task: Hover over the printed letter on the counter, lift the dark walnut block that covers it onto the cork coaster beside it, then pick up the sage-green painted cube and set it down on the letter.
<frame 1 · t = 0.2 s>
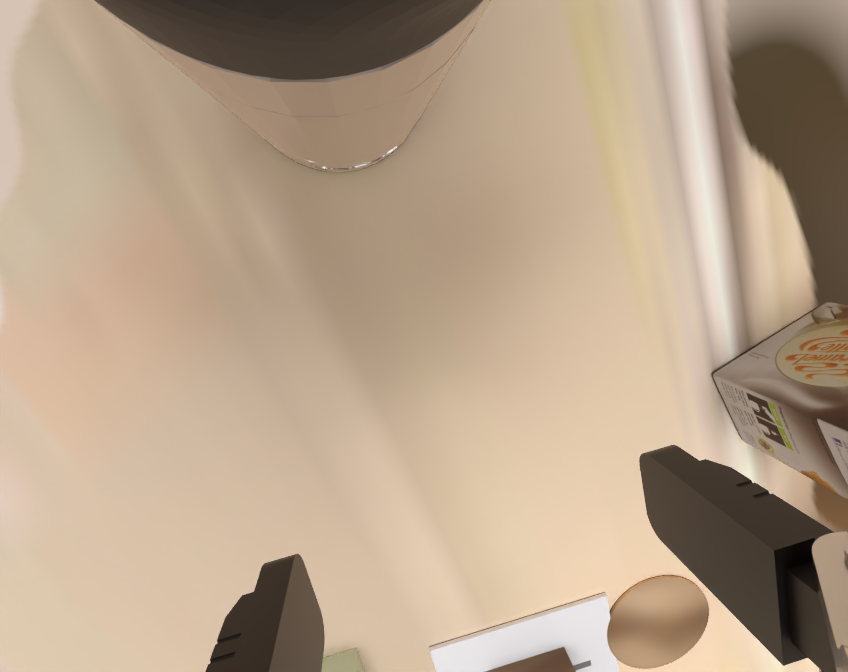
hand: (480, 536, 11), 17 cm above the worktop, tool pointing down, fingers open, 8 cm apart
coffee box: (782, 371, 32), on the worktop
coaster: (656, 621, 35), on the worktop
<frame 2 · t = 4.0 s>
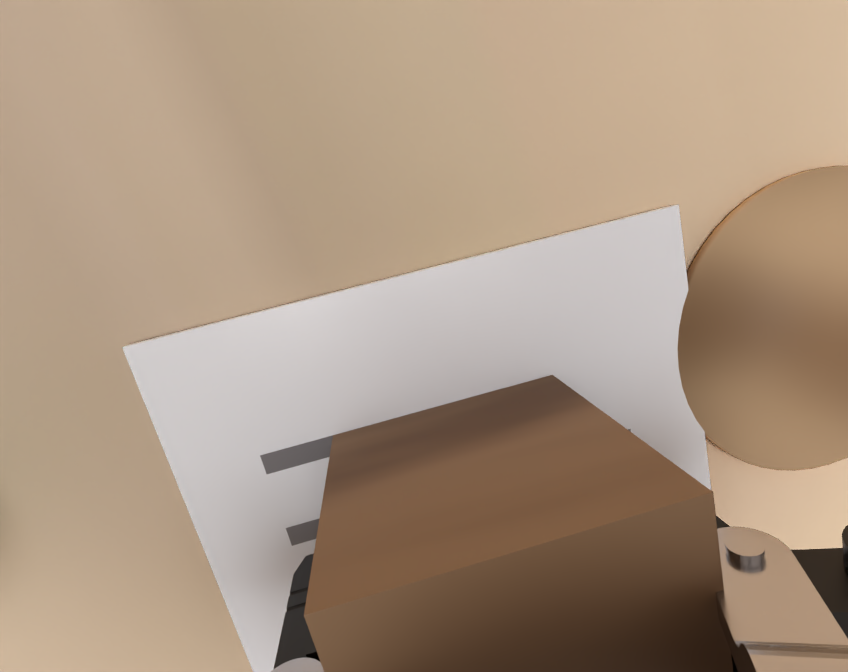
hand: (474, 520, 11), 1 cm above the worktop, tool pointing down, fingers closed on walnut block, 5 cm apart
coaster: (811, 325, 13), on the worktop
walnut block: (468, 503, 12), resting on letter, touching gripper
letter: (466, 496, 12), on the worktop
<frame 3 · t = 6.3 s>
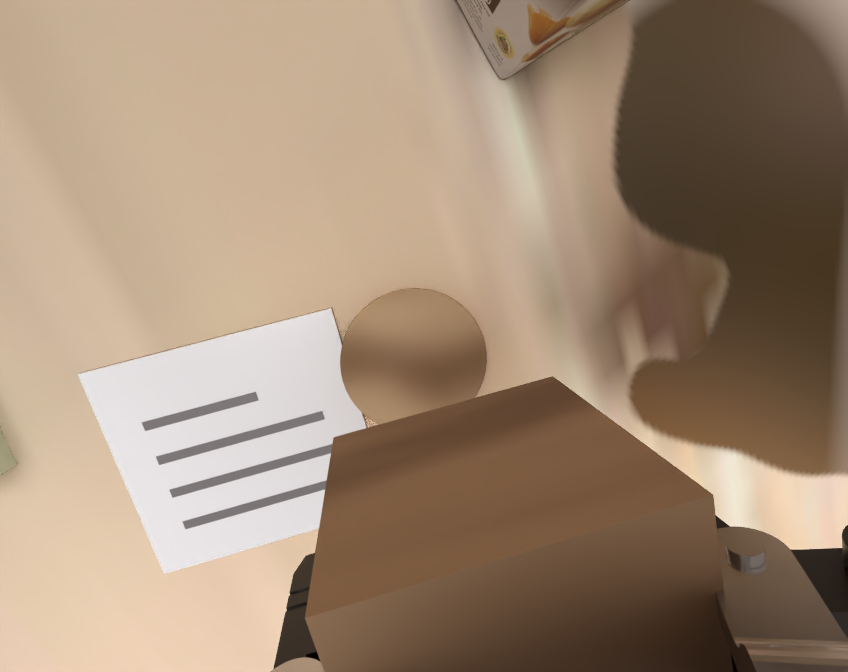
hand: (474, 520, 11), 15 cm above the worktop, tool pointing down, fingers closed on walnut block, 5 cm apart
coaster: (414, 361, 26), on the worktop
walnut block: (469, 504, 12), point 14 cm above the worktop, touching gripper
letter: (245, 443, 26), on the worktop
when the fingers open (2 cm above the worktop, at t = 8.7 s): walnut block drops 1 cm, resting on coaster.
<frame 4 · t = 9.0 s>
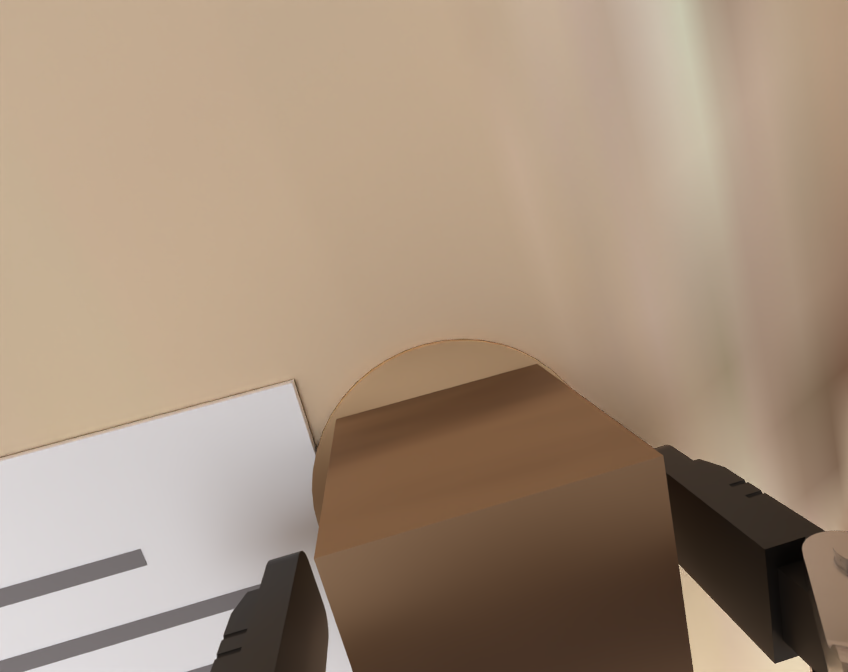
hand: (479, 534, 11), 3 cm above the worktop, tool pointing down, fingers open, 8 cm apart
coaster: (457, 477, 13), on the worktop
walnut block: (461, 482, 13), resting on coaster
letter: (127, 640, 13), on the worktop
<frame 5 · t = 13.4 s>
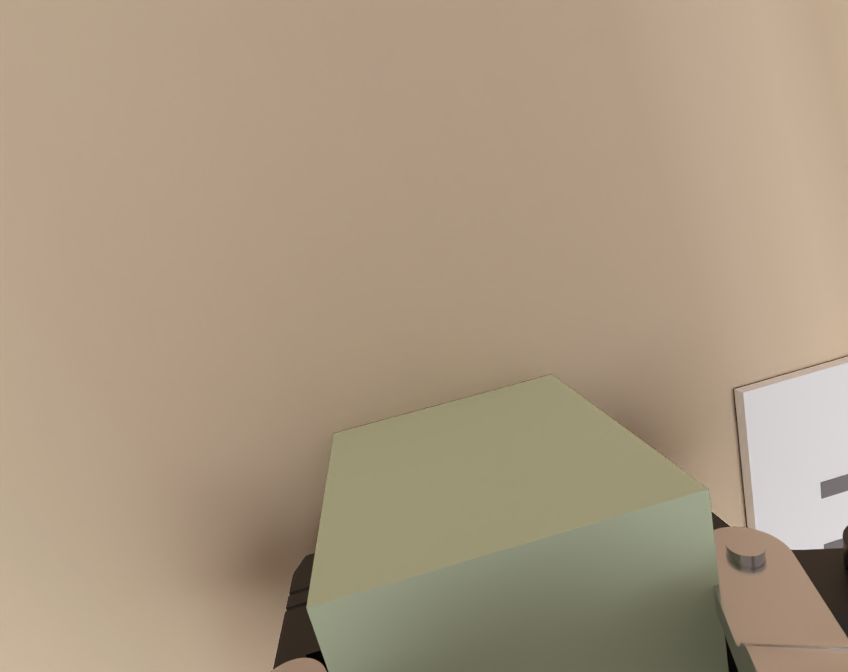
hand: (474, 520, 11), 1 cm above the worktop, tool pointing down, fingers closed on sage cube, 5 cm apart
sage cube: (468, 501, 12), on the worktop, touching gripper
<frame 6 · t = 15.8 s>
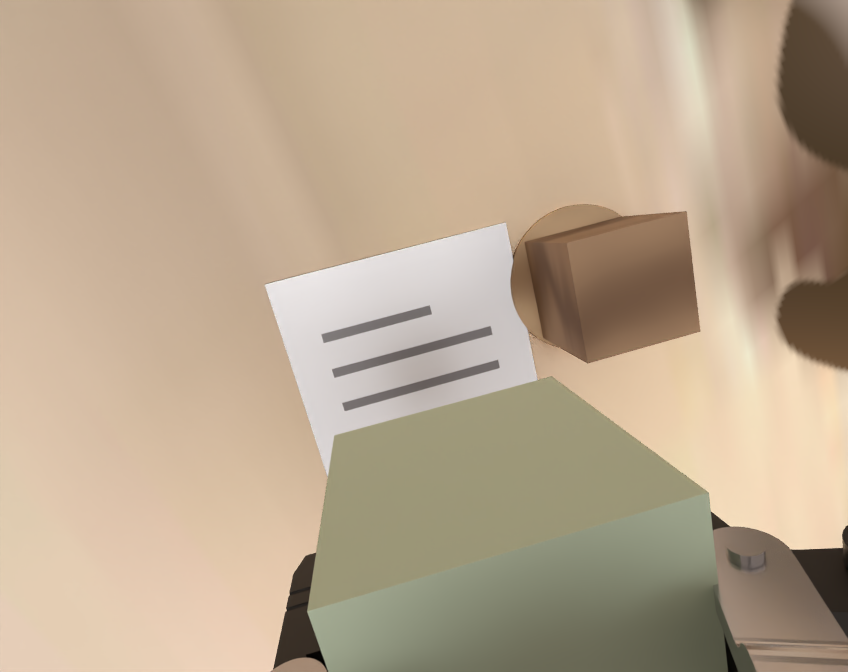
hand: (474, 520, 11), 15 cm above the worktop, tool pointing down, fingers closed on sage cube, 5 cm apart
sage cube: (468, 503, 12), point 15 cm above the worktop, touching gripper
coaster: (577, 278, 27), on the worktop
walnut block: (580, 278, 26), resting on coaster
letter: (414, 358, 26), on the worktop
when the fingers open (2 cm above the worktop, at t = 18.3 s): sage cube drops 1 cm, resting on letter.
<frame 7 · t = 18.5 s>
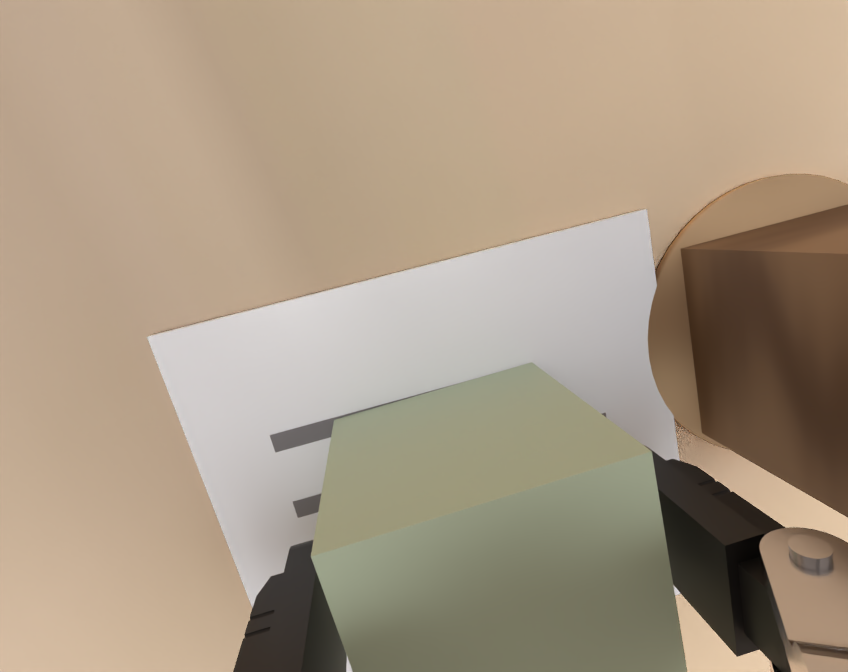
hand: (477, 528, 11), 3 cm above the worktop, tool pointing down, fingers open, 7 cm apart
sage cube: (458, 480, 13), resting on letter
coaster: (771, 319, 14), on the worktop
walnut block: (780, 320, 13), resting on coaster
letter: (456, 474, 14), on the worktop
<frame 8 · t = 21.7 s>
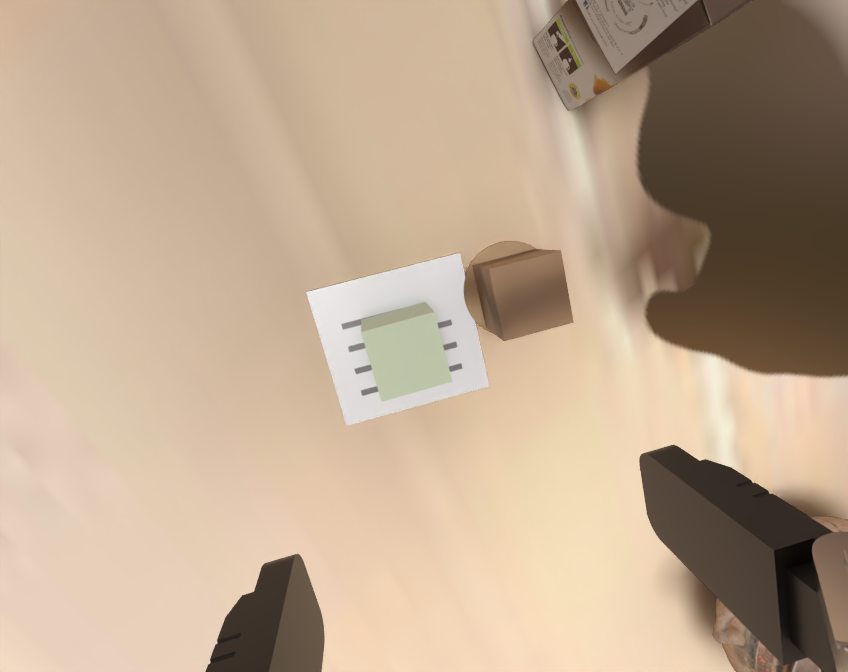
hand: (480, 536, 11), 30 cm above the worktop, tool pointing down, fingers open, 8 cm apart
sage cube: (402, 341, 40), resting on letter
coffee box: (597, 48, 38), on the worktop
cooking pot: (761, 566, 50), on the worktop
coaster: (508, 288, 41), on the worktop
walnut block: (510, 288, 40), resting on coaster
letter: (401, 340, 40), on the worktop
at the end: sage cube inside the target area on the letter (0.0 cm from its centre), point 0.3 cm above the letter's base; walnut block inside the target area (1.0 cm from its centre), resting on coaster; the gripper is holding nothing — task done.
